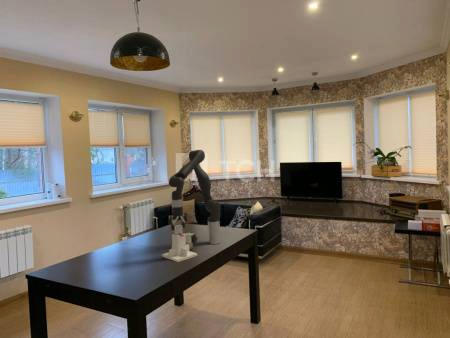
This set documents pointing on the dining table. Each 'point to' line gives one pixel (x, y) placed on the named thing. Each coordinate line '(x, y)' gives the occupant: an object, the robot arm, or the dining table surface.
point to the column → (178, 229)
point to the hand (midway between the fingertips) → (178, 229)
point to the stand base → (179, 249)
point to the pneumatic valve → (190, 239)
